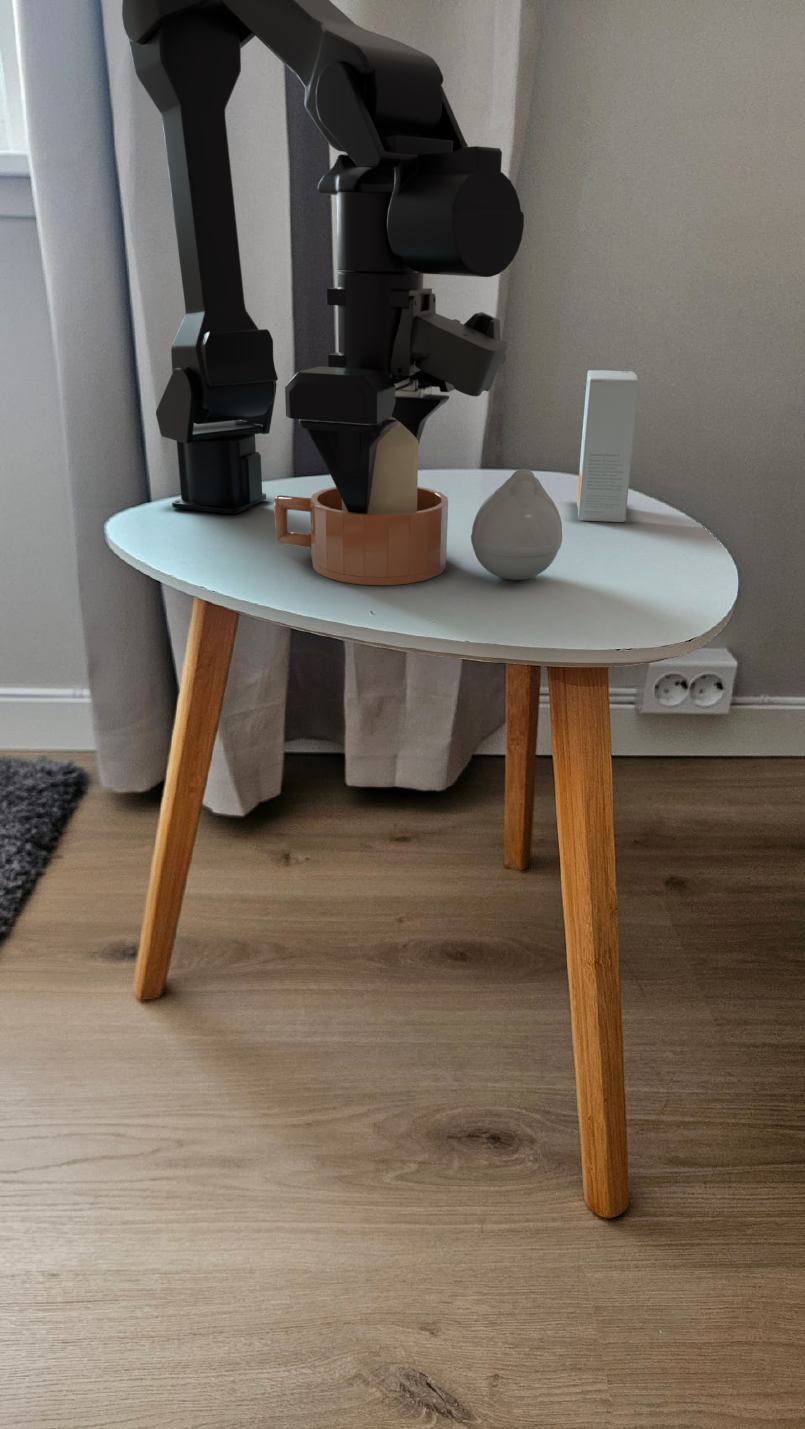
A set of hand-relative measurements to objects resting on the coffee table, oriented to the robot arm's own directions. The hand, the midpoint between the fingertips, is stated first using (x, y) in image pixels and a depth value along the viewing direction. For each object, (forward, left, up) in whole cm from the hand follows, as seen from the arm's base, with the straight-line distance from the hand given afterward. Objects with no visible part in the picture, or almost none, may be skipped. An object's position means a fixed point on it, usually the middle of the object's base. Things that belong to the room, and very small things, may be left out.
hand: (379, 505), depth 73 cm
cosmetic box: (+13, +22, -5) cm, 26 cm away
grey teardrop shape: (+10, +1, -5) cm, 11 cm away
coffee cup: (-2, 0, -4) cm, 5 cm away
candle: (0, 0, -4) cm, 4 cm away
